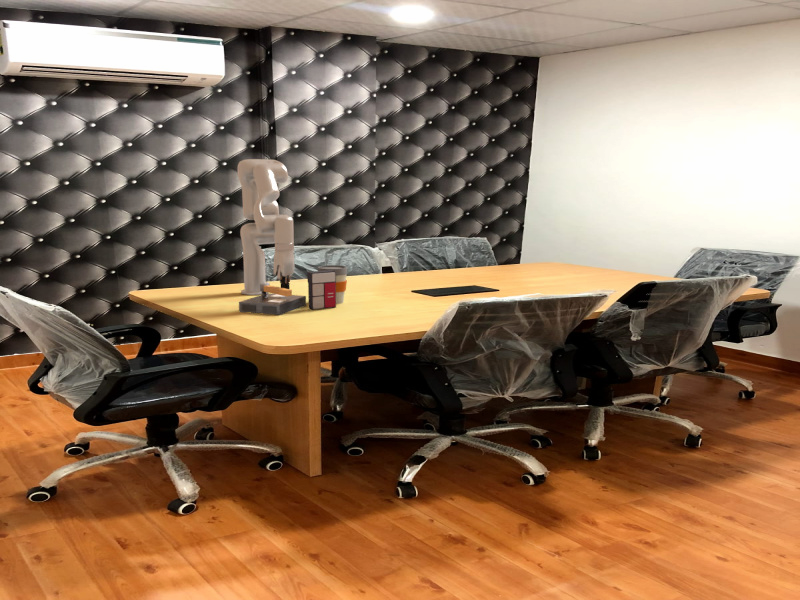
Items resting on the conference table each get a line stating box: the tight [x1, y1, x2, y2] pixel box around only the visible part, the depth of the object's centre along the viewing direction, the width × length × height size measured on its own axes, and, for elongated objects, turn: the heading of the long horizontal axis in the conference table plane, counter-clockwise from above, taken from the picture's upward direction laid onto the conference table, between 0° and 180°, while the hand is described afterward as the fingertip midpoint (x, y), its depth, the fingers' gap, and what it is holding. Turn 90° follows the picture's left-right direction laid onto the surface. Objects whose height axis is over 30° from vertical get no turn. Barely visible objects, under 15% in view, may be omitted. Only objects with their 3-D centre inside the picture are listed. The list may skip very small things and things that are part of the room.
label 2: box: [268, 299, 286, 303], centre depth 290 cm, size 6×5×1 cm
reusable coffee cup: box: [317, 264, 348, 305], centre depth 310 cm, size 13×13×15 cm
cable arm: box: [260, 283, 293, 296], centre depth 298 cm, size 20×4×3 cm, turn 43°
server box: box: [238, 291, 307, 316], centre depth 295 cm, size 22×18×6 cm
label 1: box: [269, 294, 285, 298], centre depth 301 cm, size 6×5×1 cm
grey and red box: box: [306, 270, 337, 311], centre depth 296 cm, size 11×4×15 cm, turn 122°
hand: (285, 292), depth 299 cm, fingers closed
